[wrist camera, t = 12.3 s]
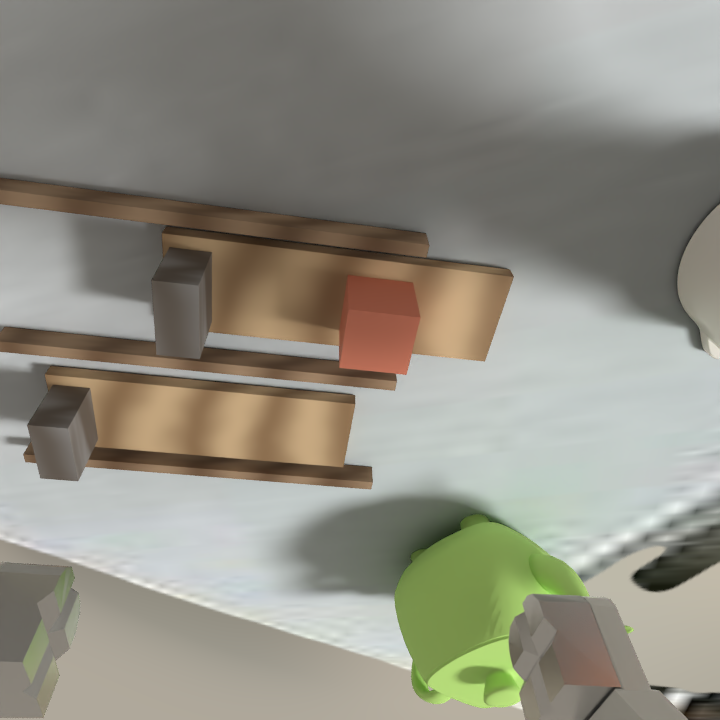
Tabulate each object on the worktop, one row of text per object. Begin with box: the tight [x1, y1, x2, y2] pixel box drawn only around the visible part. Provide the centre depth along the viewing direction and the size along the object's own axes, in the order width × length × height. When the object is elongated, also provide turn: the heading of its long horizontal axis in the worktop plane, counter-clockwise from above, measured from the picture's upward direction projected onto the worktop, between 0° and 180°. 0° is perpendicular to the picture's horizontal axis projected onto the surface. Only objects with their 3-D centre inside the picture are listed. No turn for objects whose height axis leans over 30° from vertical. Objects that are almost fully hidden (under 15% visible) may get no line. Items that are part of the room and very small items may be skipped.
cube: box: [339, 275, 421, 375], centre depth 43 cm, size 5×5×5 cm
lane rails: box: [0, 178, 429, 489], centre depth 48 cm, size 32×26×2 cm
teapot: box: [395, 514, 633, 708], centre depth 61 cm, size 25×22×16 cm
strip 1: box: [27, 366, 355, 481], centre depth 50 cm, size 26×8×6 cm, turn 81°
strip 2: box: [151, 226, 514, 361], centre depth 43 cm, size 26×8×6 cm, turn 81°
